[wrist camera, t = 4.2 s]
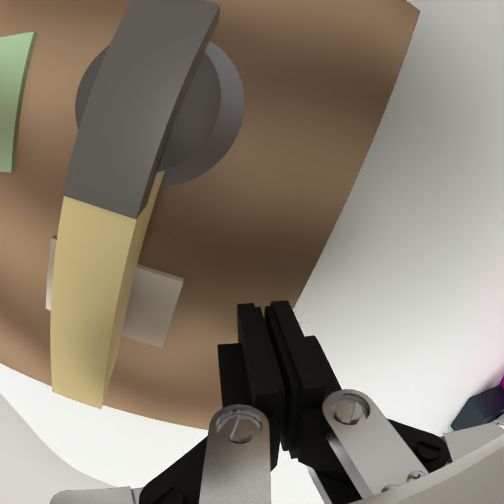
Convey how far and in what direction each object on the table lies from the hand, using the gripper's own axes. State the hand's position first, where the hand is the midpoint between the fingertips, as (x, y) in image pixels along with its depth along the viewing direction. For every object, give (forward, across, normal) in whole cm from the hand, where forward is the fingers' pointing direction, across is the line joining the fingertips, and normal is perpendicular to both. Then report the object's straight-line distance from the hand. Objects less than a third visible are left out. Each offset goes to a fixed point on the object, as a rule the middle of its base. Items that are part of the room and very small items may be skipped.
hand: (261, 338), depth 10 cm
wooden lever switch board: (+4, +5, -5) cm, 8 cm away
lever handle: (+2, +3, -8) cm, 8 cm away
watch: (+4, -24, +17) cm, 30 cm away
